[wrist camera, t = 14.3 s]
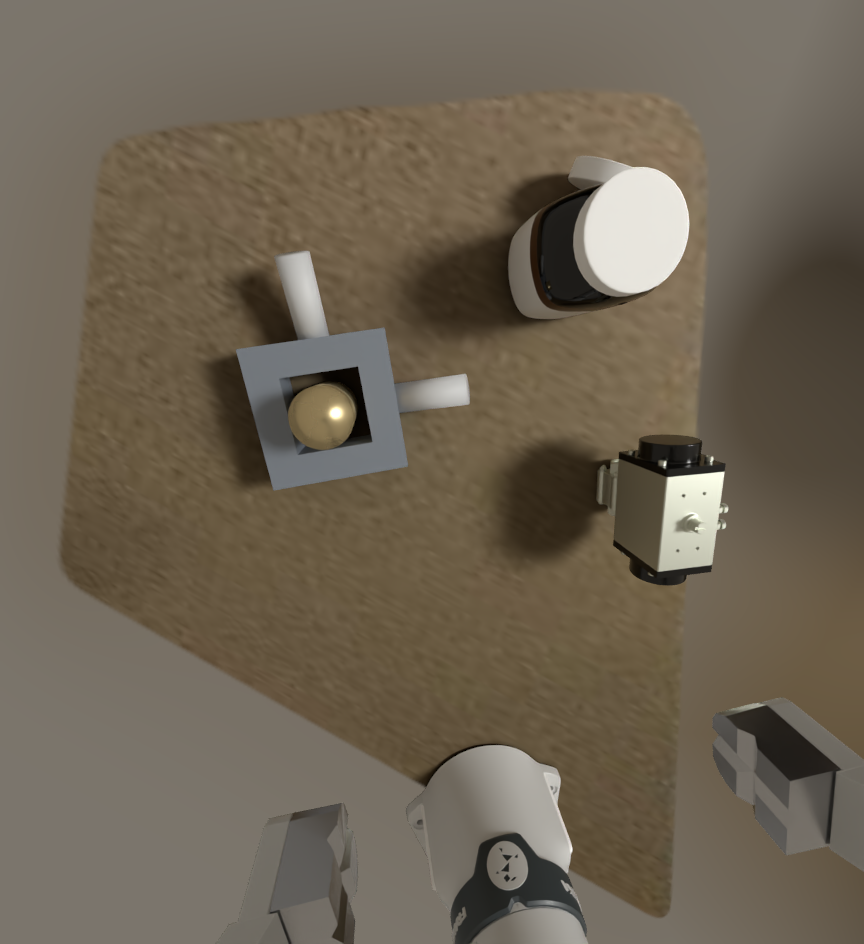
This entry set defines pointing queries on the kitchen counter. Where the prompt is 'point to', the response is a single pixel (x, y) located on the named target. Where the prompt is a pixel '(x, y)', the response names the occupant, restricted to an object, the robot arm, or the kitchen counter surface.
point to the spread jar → (598, 241)
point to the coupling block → (322, 353)
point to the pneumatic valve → (664, 507)
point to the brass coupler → (323, 415)
